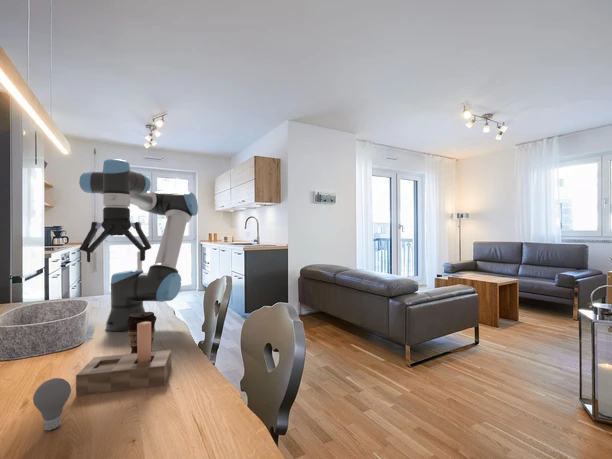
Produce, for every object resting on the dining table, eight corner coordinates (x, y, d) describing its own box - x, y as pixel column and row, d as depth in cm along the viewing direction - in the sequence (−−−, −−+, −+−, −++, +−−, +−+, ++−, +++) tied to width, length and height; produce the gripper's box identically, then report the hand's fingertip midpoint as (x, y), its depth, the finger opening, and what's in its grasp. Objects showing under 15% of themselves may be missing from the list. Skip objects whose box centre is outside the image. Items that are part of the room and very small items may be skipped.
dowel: (139, 372, 86) (138, 322, 86) (152, 370, 87) (152, 321, 87) (135, 378, 82) (135, 325, 82) (149, 376, 83) (149, 324, 83)
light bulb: (48, 419, 66) (47, 373, 66) (77, 418, 67) (77, 372, 67) (25, 438, 60) (24, 387, 60) (57, 437, 61) (57, 386, 61)
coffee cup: (143, 360, 96) (142, 318, 96) (120, 357, 98) (120, 316, 98) (161, 349, 105) (161, 311, 105) (140, 347, 106) (140, 309, 106)
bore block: (94, 375, 86) (94, 357, 86) (171, 366, 92) (171, 349, 91) (76, 395, 76) (76, 375, 76) (164, 384, 81) (164, 365, 81)
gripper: (67, 205, 95) (67, 274, 95) (155, 207, 101) (155, 271, 101) (78, 207, 102) (78, 271, 102) (160, 208, 109) (160, 268, 109)
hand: (116, 271), depth 102 cm, fingers open, 13 cm apart
